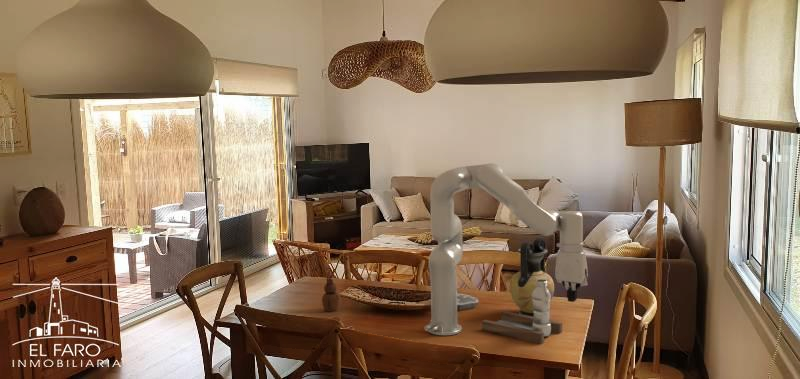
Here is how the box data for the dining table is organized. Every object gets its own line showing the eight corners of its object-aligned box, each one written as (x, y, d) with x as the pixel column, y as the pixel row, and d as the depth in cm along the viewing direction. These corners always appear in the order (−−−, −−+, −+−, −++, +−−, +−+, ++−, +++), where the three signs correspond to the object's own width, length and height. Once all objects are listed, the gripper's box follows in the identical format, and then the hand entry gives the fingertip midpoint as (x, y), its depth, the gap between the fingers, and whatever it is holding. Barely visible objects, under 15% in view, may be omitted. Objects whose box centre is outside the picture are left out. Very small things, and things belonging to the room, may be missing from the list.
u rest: (541, 344, 221) (541, 334, 221) (482, 330, 237) (482, 321, 236) (562, 332, 233) (562, 322, 232) (504, 319, 248) (504, 310, 248)
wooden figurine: (327, 313, 261) (326, 277, 259) (320, 310, 265) (318, 275, 264) (341, 310, 265) (340, 274, 263) (334, 307, 270) (332, 272, 268)
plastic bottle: (553, 338, 226) (553, 282, 224) (533, 338, 226) (533, 283, 224) (549, 332, 233) (549, 278, 230) (530, 332, 233) (530, 278, 230)
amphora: (543, 324, 242) (543, 245, 239) (502, 316, 252) (502, 241, 249) (560, 312, 257) (561, 237, 253) (521, 305, 266) (521, 234, 263)
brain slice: (472, 299, 278) (472, 292, 278) (481, 310, 262) (481, 303, 261) (427, 301, 276) (427, 294, 276) (434, 313, 259) (434, 306, 259)
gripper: (546, 247, 221) (547, 300, 223) (587, 252, 211) (588, 306, 213) (556, 244, 226) (557, 295, 228) (597, 248, 217) (597, 301, 218)
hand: (572, 300), depth 220 cm, fingers closed
